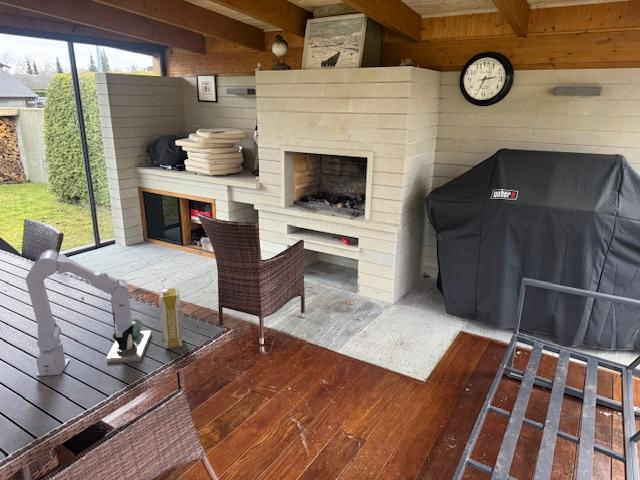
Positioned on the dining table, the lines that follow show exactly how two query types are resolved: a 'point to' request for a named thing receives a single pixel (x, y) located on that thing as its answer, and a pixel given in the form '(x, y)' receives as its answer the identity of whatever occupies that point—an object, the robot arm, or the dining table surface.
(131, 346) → the cream capsule cylinder
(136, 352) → the motor mount
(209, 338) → the dining table surface
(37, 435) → the dining table surface
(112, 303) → the energy drink
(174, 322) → the juice carton
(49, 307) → the robot arm
